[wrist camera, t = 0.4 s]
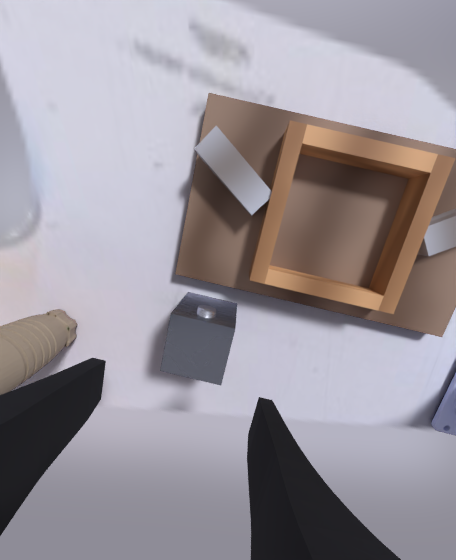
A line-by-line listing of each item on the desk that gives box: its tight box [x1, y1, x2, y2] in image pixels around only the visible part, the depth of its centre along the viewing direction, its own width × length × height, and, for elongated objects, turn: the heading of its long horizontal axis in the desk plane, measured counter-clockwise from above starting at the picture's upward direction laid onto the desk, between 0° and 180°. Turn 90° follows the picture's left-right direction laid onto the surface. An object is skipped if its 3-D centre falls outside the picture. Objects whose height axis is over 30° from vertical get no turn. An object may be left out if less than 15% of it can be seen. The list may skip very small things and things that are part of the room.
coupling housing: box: [175, 93, 456, 337], centre depth 17 cm, size 20×12×3 cm, turn 77°
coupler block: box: [160, 292, 237, 385], centre depth 18 cm, size 4×5×5 cm
